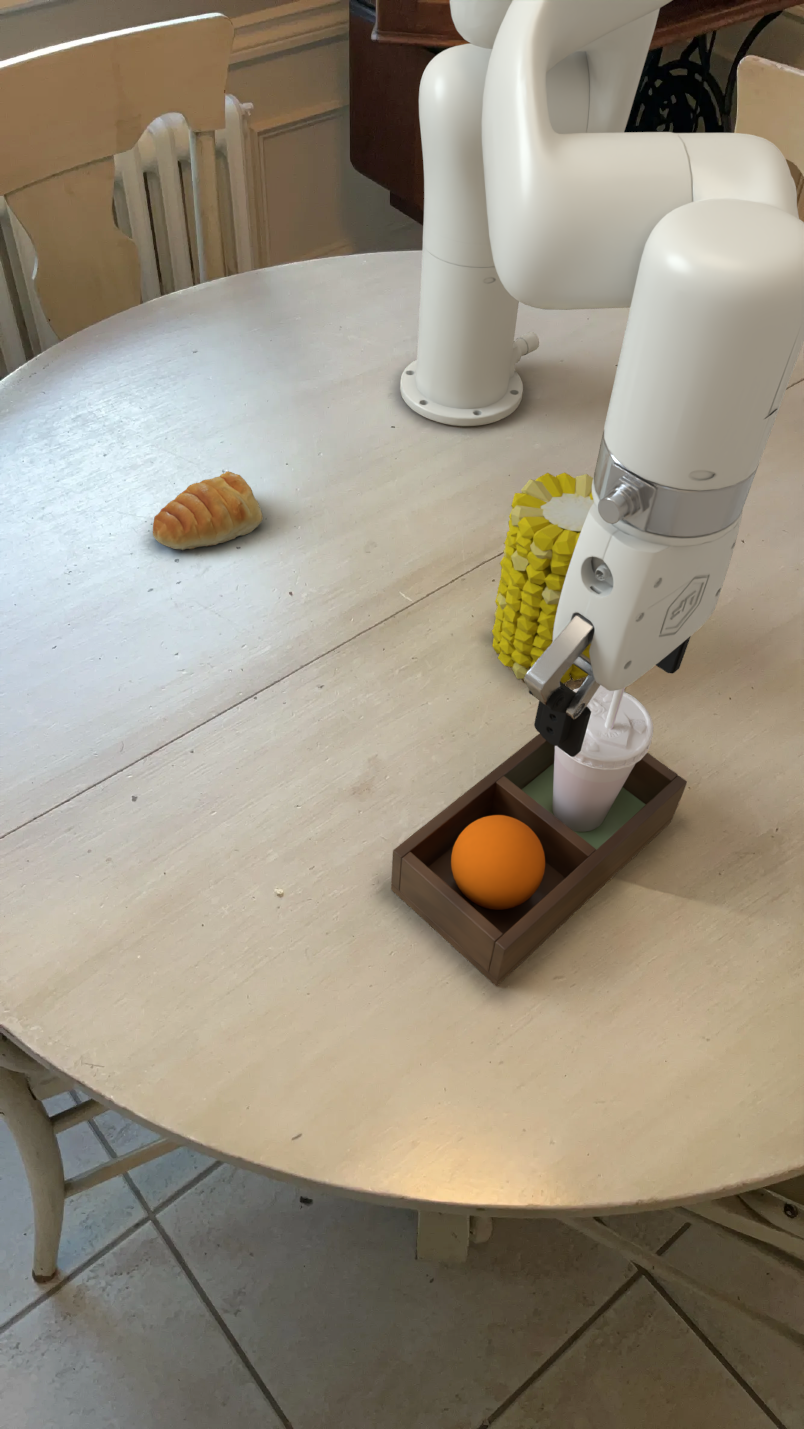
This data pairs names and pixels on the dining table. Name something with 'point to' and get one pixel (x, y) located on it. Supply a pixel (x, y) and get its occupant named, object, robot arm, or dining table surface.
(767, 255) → the robot arm
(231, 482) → the pastry
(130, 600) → the dining table surface
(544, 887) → the tray
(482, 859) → the clementine
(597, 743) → the smoothie
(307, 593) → the dining table surface
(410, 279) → the dining table surface
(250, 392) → the dining table surface
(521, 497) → the food
